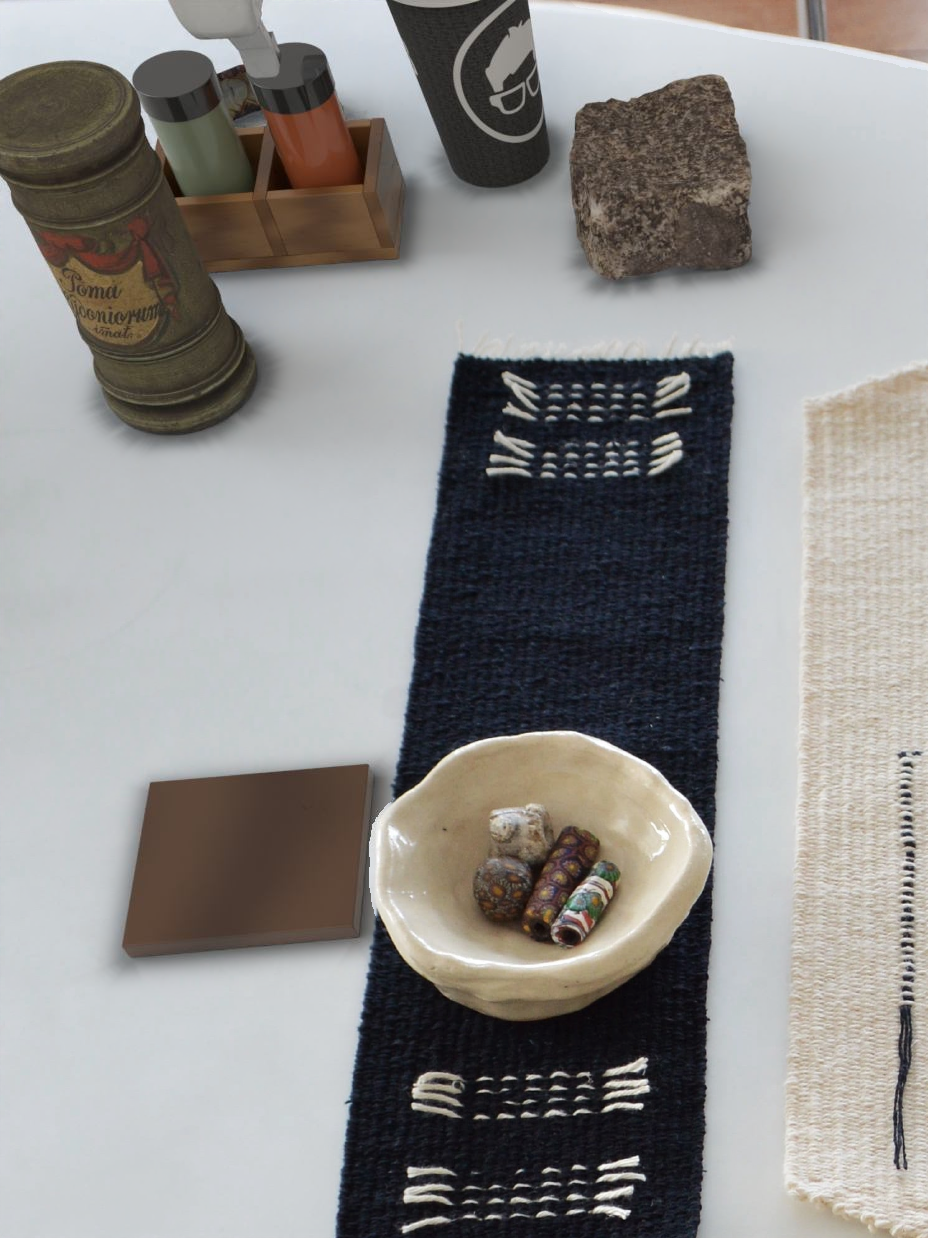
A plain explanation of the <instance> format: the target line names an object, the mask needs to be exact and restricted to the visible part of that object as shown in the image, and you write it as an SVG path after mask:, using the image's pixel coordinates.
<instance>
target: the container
mask: <svg viewBox="0 0 928 1238" xmlns="http://www.w3.org/2000/svg"><path fill="white" fill-rule="evenodd" d="M0 177H1V179H2V180H3V181H4V182H5V183H6V184H7V186H8V189H9V190H10V198H11V202H12V205H13V207H14V208H15V210H16V211H17V212H18V213H19V215H20V216H22V218H23V220H24V222H25V224H26V226H27V227H28V229H29V231H30V234H31V235H32V238H33V239H34V241H35V243H36V246H37V247H38V250H39V252H40V253H41V255H42V257H43V259H44V261H45V263H46V264H47V267H48V268H49V270H50V271H51V274H52V275H53V277H54V279H55V281H56V283H57V284H58V287H59V289H60V291H61V293H62V294H63V297H64V298H65V300H66V303H67V305H68V306H69V308H70V310H71V312H72V314H73V316H74V319H75V323H76V327H77V331H78V334H79V336H80V338H81V339H82V341H83V342H84V344H86V345H87V347H88V349H89V350H90V353H91V355H92V357H93V358H92V363H93V364H92V366H93V372H94V376H95V378H96V380H97V382H98V384H99V385H100V386H101V393H102V395H103V398H104V401H105V402H106V404H107V406H108V408H109V409H110V410H111V411H112V412H113V413H114V415H116V417H117V418H119V420H120V421H122V422H123V423H124V424H126V425H127V426H130V427H131V428H133V429H135V430H137V431H141V432H144V433H148V434H155V435H165V436H166V435H181V434H182V435H183V434H188V433H193V432H198V431H201V430H204V429H207V428H209V427H213V426H214V425H216V424H218V423H220V422H222V421H224V420H226V419H227V418H229V417H230V416H232V415H233V414H235V413H236V412H237V411H238V410H240V409H241V408H242V406H244V405H245V403H247V401H248V400H249V399H250V397H251V396H252V394H253V392H254V390H255V388H256V385H257V381H258V364H257V363H258V362H257V357H256V355H255V352H254V350H253V348H252V347H251V345H250V343H249V342H248V341H247V340H246V339H245V334H244V331H243V330H242V328H241V326H240V325H239V323H238V322H237V320H235V319H234V318H233V317H232V316H230V315H229V314H228V312H227V310H226V307H225V305H224V302H223V300H222V294H221V291H220V289H219V287H218V285H217V284H216V283H215V281H214V280H213V278H212V277H211V276H210V275H209V273H207V271H206V268H205V266H204V264H203V262H202V260H201V258H200V256H199V253H198V251H197V248H196V246H195V244H194V241H193V239H192V237H191V235H190V233H189V230H188V228H187V226H186V223H185V221H184V219H183V216H182V214H181V211H180V209H179V206H178V204H177V202H176V200H175V197H174V195H173V193H172V190H171V188H170V186H169V184H168V181H167V179H166V177H165V175H164V173H163V165H162V162H161V159H160V157H159V155H158V154H157V153H156V152H155V148H153V147H152V146H151V142H150V141H149V139H148V136H147V134H146V125H145V120H144V118H143V116H142V104H141V102H140V99H139V96H138V94H137V92H136V90H135V88H134V86H133V83H132V82H131V81H130V80H129V79H128V78H127V77H126V75H123V73H121V72H120V71H119V70H117V69H115V68H113V67H112V66H109V65H106V64H105V63H101V62H95V61H92V60H91V61H90V60H79V59H78V60H77V59H76V60H75V59H70V60H67V59H66V60H57V61H56V60H55V61H49V62H43V63H39V64H35V65H32V66H29V67H28V66H27V67H25V68H22V69H20V70H17V71H15V72H13V73H10V74H8V75H7V76H5V77H3V78H1V79H0Z"/></svg>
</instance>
